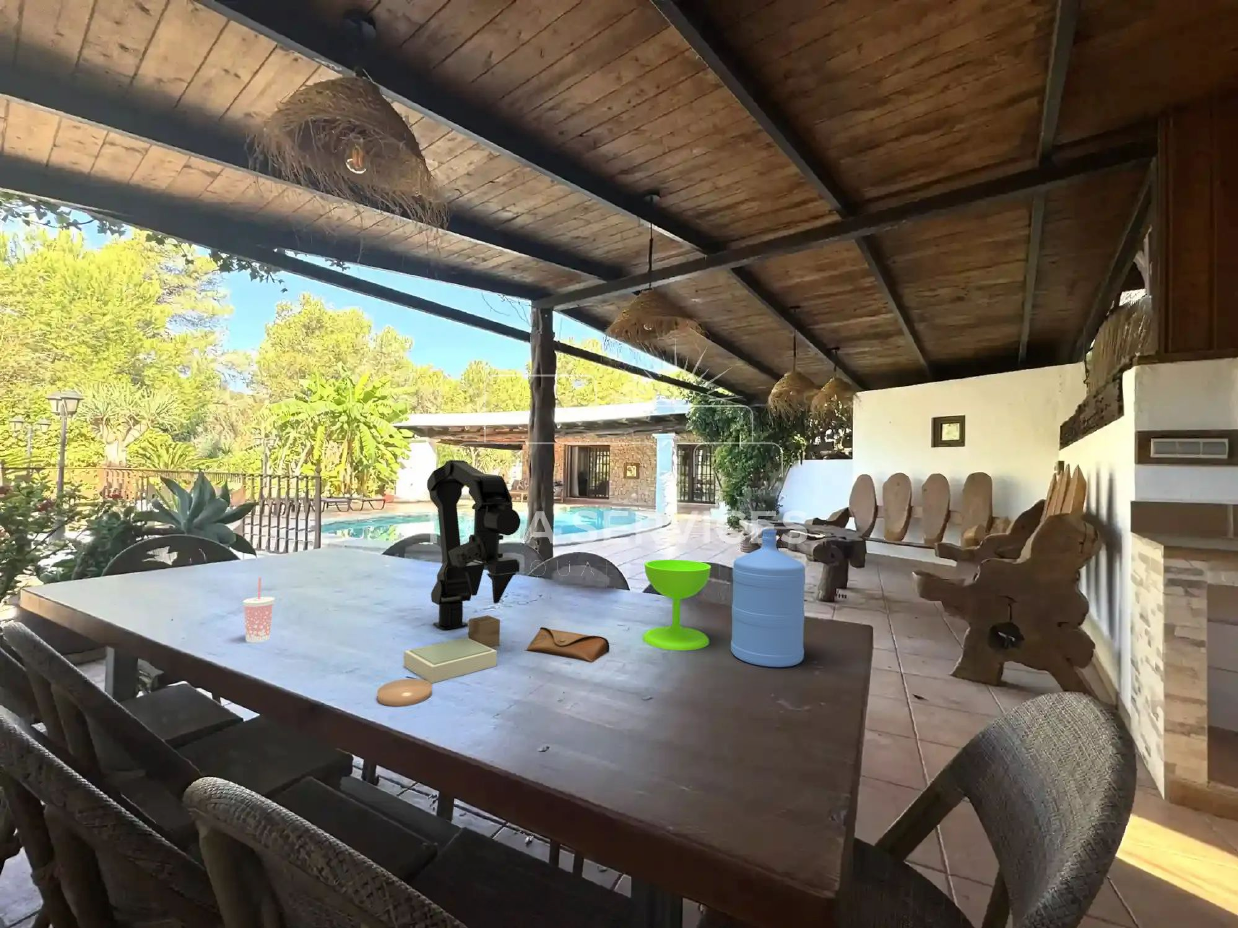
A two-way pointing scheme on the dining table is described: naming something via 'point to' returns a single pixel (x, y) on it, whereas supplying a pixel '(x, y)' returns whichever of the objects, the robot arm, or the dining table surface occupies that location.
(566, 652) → the sunglasses case
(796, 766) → the dining table surface
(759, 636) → the water jug
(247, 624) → the beverage cup
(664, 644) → the wineglass
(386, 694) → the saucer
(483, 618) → the block
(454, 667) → the base
